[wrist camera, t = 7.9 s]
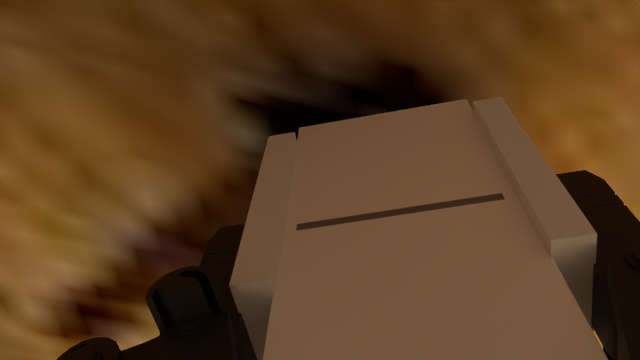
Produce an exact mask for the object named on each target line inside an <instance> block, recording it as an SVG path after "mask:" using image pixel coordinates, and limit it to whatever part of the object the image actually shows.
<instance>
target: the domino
mask: <svg viewBox="0 0 640 360" xmlns="http://www.w3.org/2000/svg"><path fill="white" fill-rule="evenodd" d="M297 144H298V146H297V153H296V159H295V166H294V172H293V179H292V185H291V192H290V198H289V205H288V212H287V218H286V225H285V231H284V238H283V244H282V251H281V257H280V264H279V270H278V277H277V283H276V290H275V296H274V297H273V298H272V304H271V310H270V317H269V323H268V330H267V336H266V342H265V349H264V355H263V360H608V358H607V357H606V355H605V353H604V351H603V349H602V347H601V346H600V344H599V342H598V340H597V338H596V336H595V335H594V333H593V331H592V329H591V327H590V325H589V323H588V322H587V320H586V318H585V316H584V314H583V312H582V311H581V309H580V307H579V305H578V303H577V301H576V300H575V298H574V296H573V294H572V292H571V290H570V289H569V287H568V285H567V283H566V281H565V279H564V278H563V276H562V274H561V272H560V270H559V268H558V266H557V265H556V263H555V261H554V259H551V258H550V256H549V254H548V253H547V251H546V249H545V247H544V245H543V243H542V241H541V239H540V238H539V236H538V234H537V232H536V230H535V228H534V226H533V225H532V223H531V221H530V219H529V217H528V215H527V213H526V211H525V210H524V208H523V206H522V204H521V202H520V200H519V198H518V197H517V195H516V193H515V191H514V189H513V187H512V185H511V183H510V182H509V180H508V178H507V176H506V174H505V172H504V170H503V168H502V167H501V165H500V163H499V161H498V159H497V157H496V155H495V154H494V152H493V150H492V148H491V146H490V144H489V142H488V140H487V139H486V137H485V135H484V133H483V131H482V129H481V127H480V126H479V124H478V122H477V120H476V118H475V116H474V112H473V110H472V108H471V106H470V105H469V103H468V101H467V99H463V100H457V101H451V102H445V103H440V104H434V105H428V106H422V107H417V108H411V109H405V110H399V111H393V112H388V113H382V114H376V115H370V116H365V117H359V118H353V119H347V120H341V121H336V122H330V123H324V124H318V125H312V126H307V127H301V128H299V133H298V139H297Z"/></svg>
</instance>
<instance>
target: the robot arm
mask: <svg viewBox="0 0 640 360" xmlns="http://www.w3.org/2000/svg"><path fill="white" fill-rule="evenodd" d="M473 110H474V116H475V118H476V120H477V122H478V124H479V126H480V127H481V129H482V131H483V133H484V135H485V137H486V139H487V140H488V142H489V144H490V146H491V148H492V150H493V152H494V154H495V155H496V157H497V159H498V161H499V163H500V165H501V167H502V168H503V170H504V172H505V174H506V176H507V178H508V180H509V182H510V183H511V185H512V187H513V189H514V191H515V193H516V195H517V197H518V198H519V200H520V202H521V204H522V206H523V208H524V210H525V211H526V213H527V215H528V217H529V219H530V221H531V223H532V225H533V226H534V228H535V230H536V232H537V234H538V236H539V238H540V239H541V241H542V243H543V245H544V247H545V249H546V251H547V253H548V254H549V256H550V258H551V259H554V261H555V263H556V265H557V266H558V268H559V270H560V272H561V274H562V276H563V278H564V279H565V281H566V283H567V285H568V287H569V289H570V290H571V292H572V294H573V296H574V298H575V300H576V301H577V303H578V305H579V307H580V309H581V311H582V312H583V314H584V316H585V318H586V320H587V322H588V323H589V325H590V327H591V329H592V331H593V328H594V330H595V332H596V334H597V335H598V337H599V339H600V341H601V343H602V345H603V351H604V353H605V355H606V357H607V358H608V360H640V222H639V221H638V219H637V218H636V217H635V216H634V215H633V214H632V212H631V211H630V210H629V209H628V208H627V206H626V205H625V206H624V204H623V202H622V200H621V199H620V198H619V197H618V196H617V195H615V192H614V191H613V190H612V189H611V187H610V186H609V185H608V184H607V183H606V181H605V180H604V179H602V178H600V177H598V176H596V175H594V174H592V173H590V172H588V171H586V170H582V171H576V172H569V173H563V174H555V173H554V171H553V170H552V168H551V167H550V166H549V164H548V163H547V161H546V160H545V158H544V157H543V156H542V154H541V153H540V151H539V150H538V148H537V147H536V146H535V144H534V143H533V141H532V140H531V138H530V137H529V135H528V134H527V133H526V131H525V130H524V128H523V127H522V125H521V124H520V123H519V121H518V120H517V118H516V117H515V115H514V114H513V113H512V111H511V110H510V108H509V107H508V105H507V104H506V103H505V101H504V100H503V98H502V97H495V98H489V99H483V100H477V101H473ZM297 146H298V144H297V140H296V136H295V132H292V133H286V134H280V135H275V136H269V137H268V141H267V145H266V148H265V152H264V156H263V160H262V163H261V167H260V171H259V175H258V178H257V182H256V186H255V190H254V194H253V197H252V201H251V205H250V209H249V212H248V216H247V220H246V224H241V225H235V226H228V227H222V228H220V229H219V230H218V231H217V232H216V233H215V234H214V235H213V237H212V238H211V239H210V240H209V241H208V243H207V246H206V249H205V252H204V257H203V258H202V260H201V263H200V266H190V267H185V268H180V269H177V270H175V271H173V272H170V273H168V274H166V275H165V276H163V277H162V278H160V279H159V280H157V281H156V282H155V283H154V284H153V286H152V287H151V288H150V289H149V290H148V293H147V295H146V298H145V300H146V302H147V304H148V307H149V309H150V311H151V313H152V316H153V318H154V320H155V322H156V324H157V327H158V329H159V331H160V336H158V337H156V338H154V339H152V340H149V341H147V342H145V343H142V344H139V345H137V346H134V347H131V348H128V349H126V350H123V351H121V350H120V349H119V347H118V345H117V343H116V341H114V340H112V339H110V338H105V337H96V338H93V339H89V340H85V341H83V342H81V343H79V344H77V345H75V346H73V347H71V348H70V349H68V350H67V351H66V352H65V353H63V354H62V355H61V356H60V357H59V358H58V359H57V360H263V355H264V349H265V342H266V336H267V330H268V323H269V317H270V310H271V304H272V298H273V297H274V296H275V290H276V283H277V277H278V270H279V264H280V257H281V251H282V244H283V238H284V231H285V225H286V218H287V212H288V205H289V198H290V192H291V185H292V179H293V172H294V166H295V159H296V153H297Z"/></svg>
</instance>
